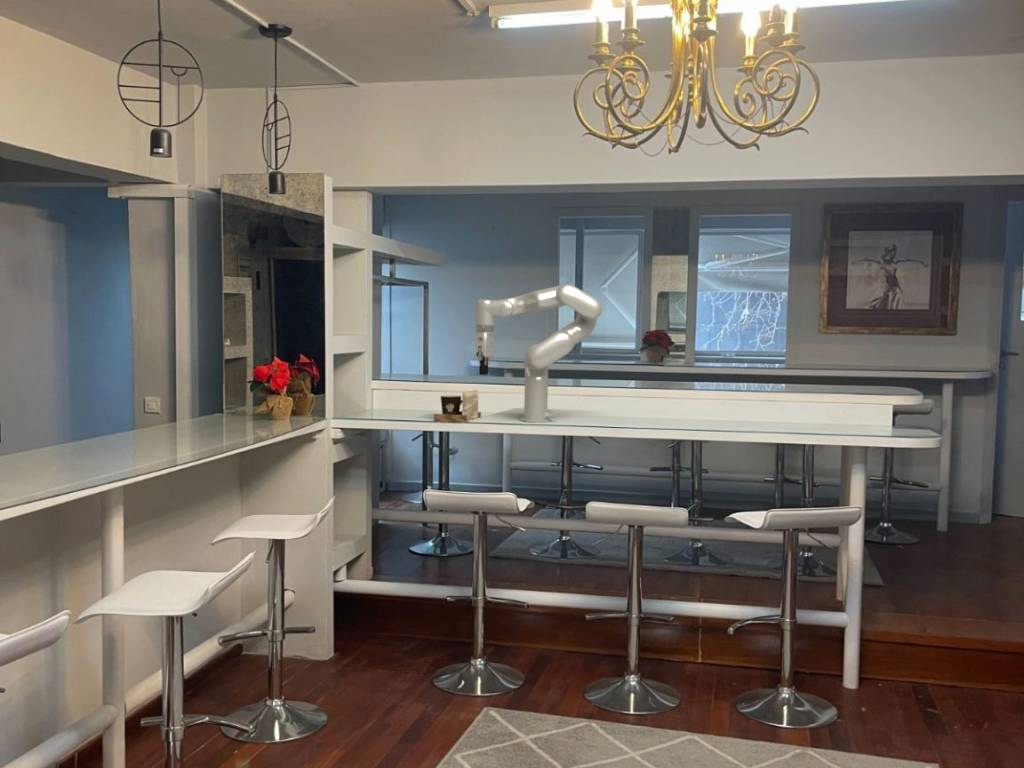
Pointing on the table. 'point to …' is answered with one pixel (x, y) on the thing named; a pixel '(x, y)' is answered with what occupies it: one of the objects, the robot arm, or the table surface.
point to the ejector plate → (470, 405)
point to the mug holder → (452, 418)
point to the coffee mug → (451, 404)
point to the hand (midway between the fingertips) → (483, 374)
